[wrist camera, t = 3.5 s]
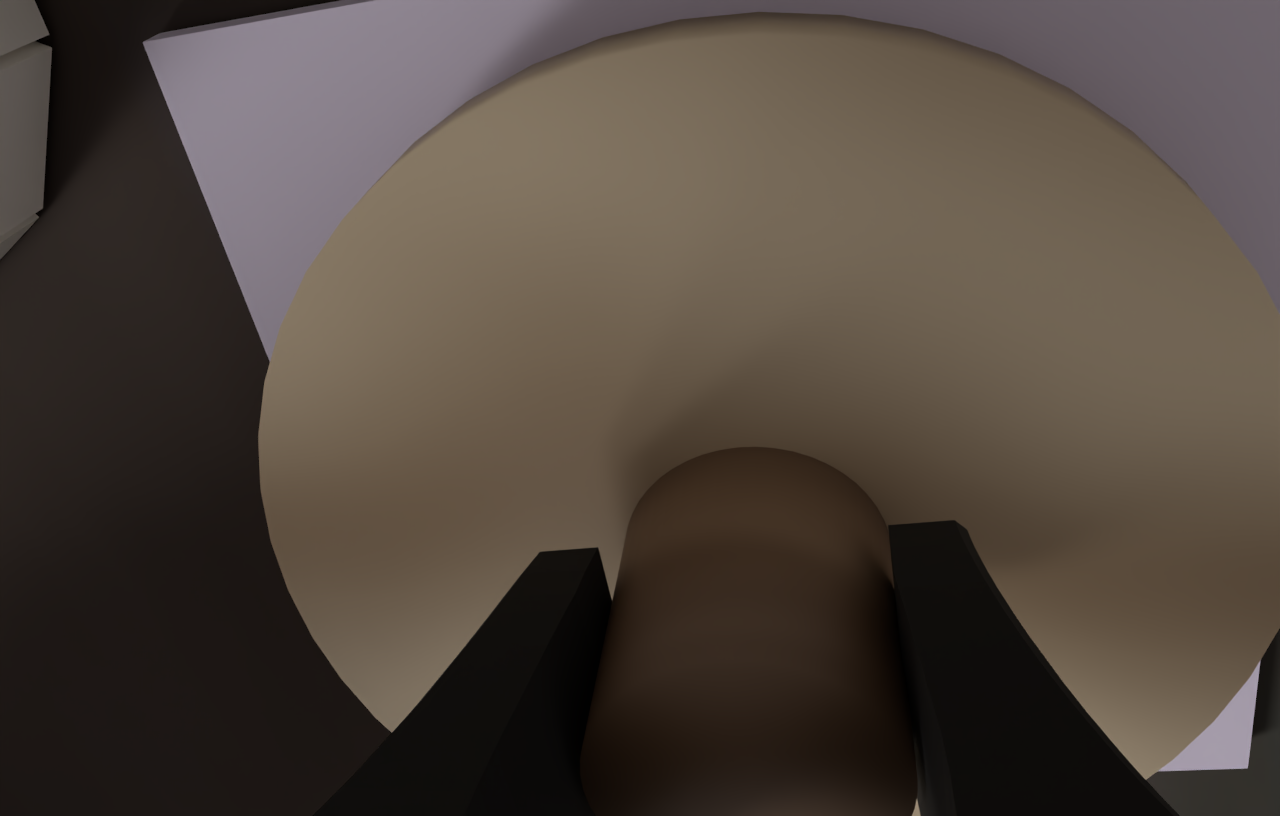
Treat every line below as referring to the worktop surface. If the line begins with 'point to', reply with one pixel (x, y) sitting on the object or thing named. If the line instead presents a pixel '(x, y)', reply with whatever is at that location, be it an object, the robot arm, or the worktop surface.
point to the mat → (616, 3)
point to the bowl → (22, 117)
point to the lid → (781, 402)
